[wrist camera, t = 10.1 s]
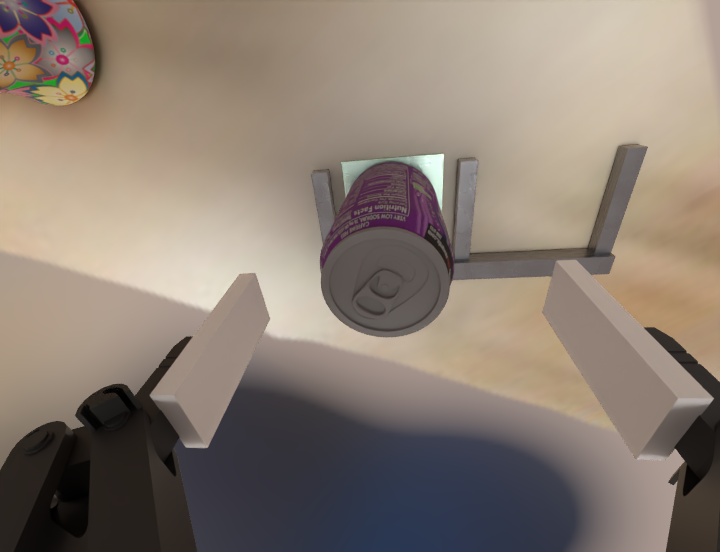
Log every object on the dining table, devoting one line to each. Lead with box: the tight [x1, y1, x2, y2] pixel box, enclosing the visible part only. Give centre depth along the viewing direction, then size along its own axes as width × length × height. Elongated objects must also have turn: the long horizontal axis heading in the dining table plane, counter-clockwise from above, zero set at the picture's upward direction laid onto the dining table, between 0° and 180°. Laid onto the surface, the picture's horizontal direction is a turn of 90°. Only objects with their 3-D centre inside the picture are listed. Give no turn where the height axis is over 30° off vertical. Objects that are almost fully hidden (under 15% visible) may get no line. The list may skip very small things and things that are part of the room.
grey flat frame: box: [311, 144, 648, 280], centre depth 25 cm, size 10×23×2 cm, turn 95°
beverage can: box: [320, 162, 454, 337], centre depth 20 cm, size 7×7×12 cm
